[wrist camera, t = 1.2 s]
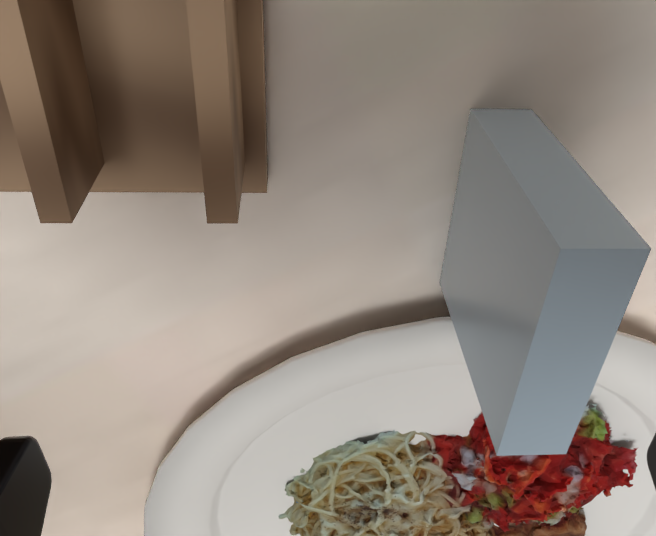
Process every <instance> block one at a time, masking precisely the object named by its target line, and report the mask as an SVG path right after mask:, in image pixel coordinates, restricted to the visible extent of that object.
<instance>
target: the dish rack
mask: <svg viewBox="0 0 656 536" xmlns="http://www.w3.org/2000/svg"><path fill="white" fill-rule="evenodd" d="M267 181H268V171H267V133H266V95H265V57H264V20H263V0H0V191H3V192H32V194H33V198H34V201H35V205H36V209H37V212H38V216H39V219H40V223H72V222H73V220H74V218H75V217H76V215H77V213H78V211H79V209H80V207H81V206H82V204H83V202H84V200H85V198H86V196H87V195H88V193H89V192H204V195H205V206H206V216H207V223H238V216H239V208H240V201H241V193H267Z"/></svg>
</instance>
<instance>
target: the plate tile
mask: <svg viewBox="0 0 656 536" xmlns="http://www.w3.org/2000/svg"><path fill="white" fill-rule="evenodd" d="M650 250H651V248H650V247H649V245H648V244H647V243H646V242H645V241H644V240H643V238H642V237H641V236H640V235H639V234H638V233H637V231H636V230H635V229H634V228H633V227H632V226H631V224H630V223H629V222H628V221H627V220H626V219H625V217H624V216H623V215H622V214H621V213H620V212H619V211H618V209H617V208H616V207H615V206H614V205H613V204H612V202H611V201H610V200H609V199H608V198H607V197H606V195H605V194H604V193H603V192H602V191H601V190H600V188H599V187H598V186H597V185H596V184H595V183H594V181H593V180H592V179H591V178H590V177H589V176H588V174H587V173H586V172H585V171H584V170H583V169H582V167H581V166H580V165H579V164H578V163H577V162H576V160H575V159H574V158H573V157H572V156H571V155H570V153H569V152H568V151H567V150H566V149H565V148H564V146H563V145H562V144H561V143H560V142H559V141H558V139H557V138H556V137H555V136H554V135H553V134H552V133H551V131H550V130H549V129H548V128H547V127H546V126H545V124H544V123H543V122H542V121H541V120H540V119H539V117H538V116H537V115H536V114H535V113H534V112H533V110H532V109H470V114H469V119H468V125H467V131H466V136H465V142H464V148H463V153H462V159H461V165H460V170H459V176H458V182H457V187H456V193H455V199H454V204H453V210H452V215H451V221H450V227H449V232H448V238H447V244H446V249H445V255H444V261H443V266H442V272H441V278H440V286H441V289H442V292H443V295H444V298H445V301H446V304H447V307H448V310H449V313H450V316H451V319H452V322H453V325H454V328H455V331H456V334H457V337H458V340H459V343H460V347H461V350H462V353H463V356H464V359H465V362H466V365H467V368H468V371H469V374H470V377H471V380H472V383H473V386H474V389H475V392H476V395H477V398H478V401H479V404H480V407H481V410H482V413H483V416H484V419H485V422H486V425H487V428H488V431H489V434H490V437H491V440H492V443H493V446H494V449H495V452H496V455H497V456H509V455H552V454H566V453H567V451H568V448H569V446H570V444H571V441H572V439H573V436H574V434H575V432H576V429H577V427H578V424H579V422H580V419H581V417H582V415H583V412H584V410H585V407H586V405H587V403H588V400H589V398H590V395H591V393H592V390H593V388H594V386H595V383H596V381H597V378H598V376H599V374H600V371H601V369H602V366H603V364H604V362H605V359H606V357H607V354H608V352H609V349H610V347H611V345H612V342H613V340H614V337H615V335H616V333H617V330H618V328H619V325H620V323H621V320H622V318H623V316H624V313H625V311H626V308H627V306H628V304H629V301H630V299H631V296H632V294H633V291H634V289H635V287H636V284H637V282H638V279H639V277H640V275H641V272H642V270H643V267H644V265H645V262H646V260H647V258H648V255H649V253H650Z"/></svg>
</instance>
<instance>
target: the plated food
mask: <svg viewBox="0 0 656 536" xmlns="http://www.w3.org/2000/svg"><path fill="white" fill-rule="evenodd" d="M655 433H656V344H654V343H653V342H651V341H649V340H647V339H643V338H640V337H637V336H633V335H630V334H627V333H623V332H620V331H617V333H616V335H615V337H614V340H613V342H612V345H611V347H610V349H609V352H608V354H607V357H606V359H605V362H604V364H603V366H602V369H601V371H600V374H599V376H598V378H597V381H596V383H595V386H594V388H593V390H592V393H591V395H590V398H589V400H588V403H587V405H586V407H585V410H584V412H583V415H582V417H581V419H580V422H579V424H578V427H577V429H576V432H575V434H574V436H573V439H572V441H571V444H570V446H569V448H568V451H567V453H566V454H552V455H509V456H497V455H496V452H495V449H494V446H493V443H492V440H491V437H490V434H489V431H488V428H487V425H486V422H485V419H484V416H483V413H482V410H481V407H480V404H479V401H478V398H477V395H476V392H475V389H474V386H473V383H472V380H471V377H470V374H469V371H468V368H467V365H466V362H465V359H464V356H463V353H462V350H461V347H460V343H459V340H458V337H457V334H456V331H455V328H454V325H453V322H452V319H451V317H437V318H432V319H426V320H421V321H416V322H411V323H406V324H401V325H396V326H390V327H385V328H380V329H375V330H370V331H365V332H361V333H358V334H355V335H352V336H349V337H347V338H344V339H341V340H338V341H335V342H332V343H330V344H327V345H324V346H321V347H318V348H316V349H313V350H310V351H307V352H304V353H301V354H299V355H296V356H293V357H291V358H289V359H287V360H285V361H283V362H282V363H280V364H278V365H276V366H274V367H273V368H271V369H269V370H267V371H265V372H263V373H262V374H260V375H258V376H256V377H254V378H253V379H251V380H249V381H247V382H245V383H243V384H242V385H240V386H238V387H236V388H234V389H233V390H231V391H230V392H229V393H228V394H227V395H225V396H224V397H223V398H222V399H221V400H219V401H218V402H217V403H216V404H215V405H213V406H212V407H211V408H210V409H209V410H207V411H206V412H205V413H204V414H202V415H201V416H200V417H199V418H198V419H196V420H195V421H194V422H193V423H192V424H190V425H189V426H188V428H187V429H186V430H185V431H184V433H183V434H182V435H181V437H180V438H179V439H178V441H177V442H176V443H175V445H174V446H173V447H172V449H171V450H170V451H169V453H168V454H167V455H166V457H165V458H164V459H163V461H162V462H161V463H160V465H159V468H158V471H157V473H156V476H155V479H154V481H153V484H152V487H151V489H150V492H149V495H148V497H147V500H146V504H145V510H144V536H656V489H655V486H654V483H653V480H652V477H651V474H650V471H649V468H648V464H647V450H648V447H649V445H650V443H651V441H652V439H653V437H654V435H655Z"/></svg>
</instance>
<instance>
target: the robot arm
mask: <svg viewBox="0 0 656 536" xmlns="http://www.w3.org/2000/svg"><path fill="white" fill-rule="evenodd" d="M647 464H648V468H649V471H650V474H651V477H652V480H653V483H654V486H655V489H656V433H655V435H654V437H653V439H652V441H651V443H650V445H649V447H648V450H647ZM50 489H51V472H50V469H49V466H48V464H47V462H46V460H45V457H44V455H43V453H42V450H41V448H40V446H39V444H38V442H37V440H36V439H35V438H33V437H32V436H17V437H5V438H3V439H1V440H0V536H41V533H42V528H43V523H44V518H45V513H46V508H47V503H48V499H49V494H50Z"/></svg>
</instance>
